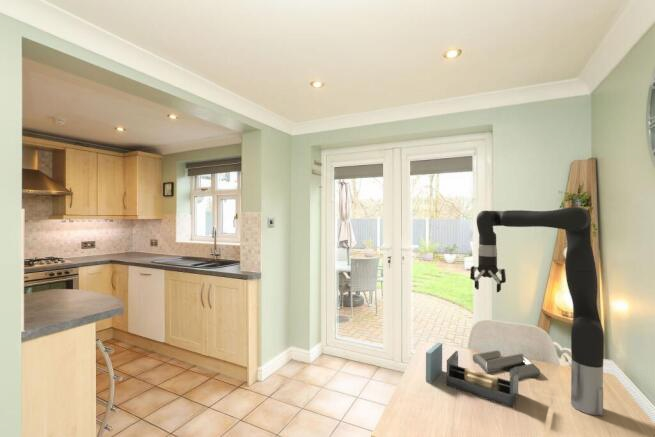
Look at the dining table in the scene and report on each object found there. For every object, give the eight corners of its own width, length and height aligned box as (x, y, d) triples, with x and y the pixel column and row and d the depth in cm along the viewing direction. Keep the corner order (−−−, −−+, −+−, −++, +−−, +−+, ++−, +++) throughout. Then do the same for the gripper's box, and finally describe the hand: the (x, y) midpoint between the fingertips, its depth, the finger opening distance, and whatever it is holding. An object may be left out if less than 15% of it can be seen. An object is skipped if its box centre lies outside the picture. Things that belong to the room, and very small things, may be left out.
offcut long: (498, 394, 126) (498, 377, 126) (496, 397, 124) (497, 379, 124) (465, 384, 134) (466, 368, 134) (464, 386, 132) (464, 369, 132)
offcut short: (492, 396, 125) (492, 380, 125) (491, 398, 124) (491, 383, 124) (468, 388, 131) (468, 373, 131) (466, 390, 129) (466, 375, 129)
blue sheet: (430, 386, 135) (430, 353, 135) (425, 385, 136) (426, 352, 136) (442, 374, 146) (442, 343, 146) (437, 372, 147) (437, 342, 147)
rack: (518, 397, 127) (518, 367, 127) (512, 411, 118) (513, 379, 118) (455, 377, 142) (455, 350, 142) (446, 389, 133) (446, 360, 133)
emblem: (479, 341, 171) (542, 355, 154) (479, 351, 171) (542, 366, 154) (465, 360, 149) (537, 378, 132) (465, 371, 149) (537, 391, 132)
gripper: (468, 254, 147) (468, 289, 147) (503, 256, 138) (503, 294, 138) (473, 253, 153) (473, 287, 153) (506, 255, 144) (506, 291, 144)
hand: (487, 290), depth 146 cm, fingers open, 8 cm apart
